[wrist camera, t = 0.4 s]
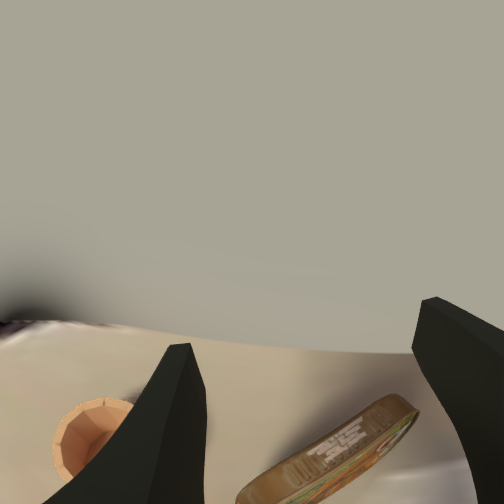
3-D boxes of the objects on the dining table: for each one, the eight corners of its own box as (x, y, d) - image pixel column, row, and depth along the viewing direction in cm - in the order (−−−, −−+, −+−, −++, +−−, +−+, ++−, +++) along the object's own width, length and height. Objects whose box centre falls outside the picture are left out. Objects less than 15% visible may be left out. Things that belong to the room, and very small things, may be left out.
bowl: (164, 522, 17) (143, 513, 14) (70, 493, 18) (40, 476, 15) (181, 432, 25) (167, 408, 22) (95, 416, 25) (73, 389, 22)
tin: (253, 537, 17) (247, 529, 12) (233, 507, 19) (221, 486, 14) (401, 443, 22) (439, 397, 17) (380, 421, 25) (411, 370, 20)
